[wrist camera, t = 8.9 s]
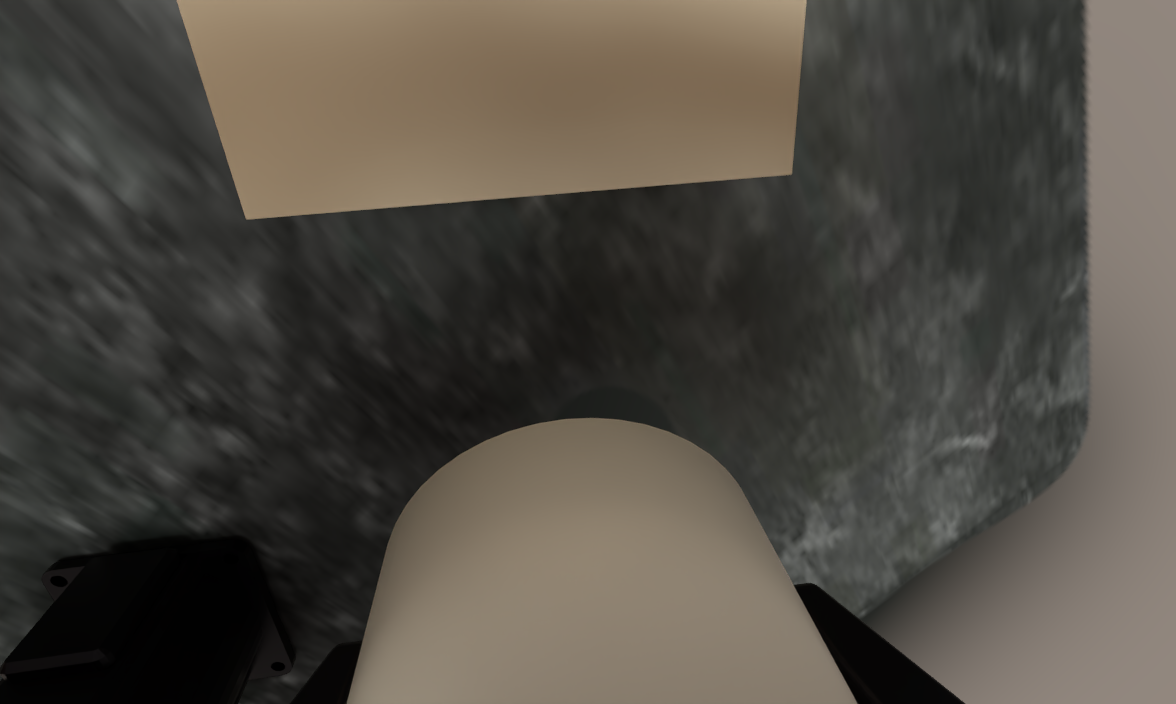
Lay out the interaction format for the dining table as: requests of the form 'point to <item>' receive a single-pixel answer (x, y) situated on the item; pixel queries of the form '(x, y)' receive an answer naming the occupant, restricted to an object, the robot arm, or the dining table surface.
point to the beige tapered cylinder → (587, 582)
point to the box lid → (493, 96)
